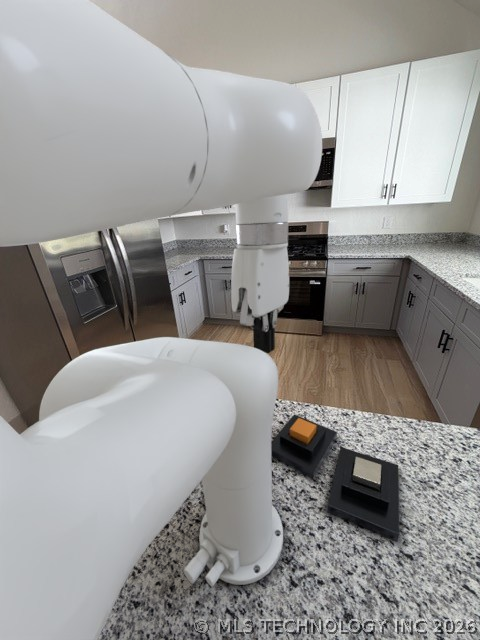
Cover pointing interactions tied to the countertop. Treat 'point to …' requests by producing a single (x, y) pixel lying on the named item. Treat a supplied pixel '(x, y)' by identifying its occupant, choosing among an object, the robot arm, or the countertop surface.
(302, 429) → the amber key
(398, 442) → the countertop surface
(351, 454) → the front keypad
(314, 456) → the rear keypad
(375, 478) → the white key
